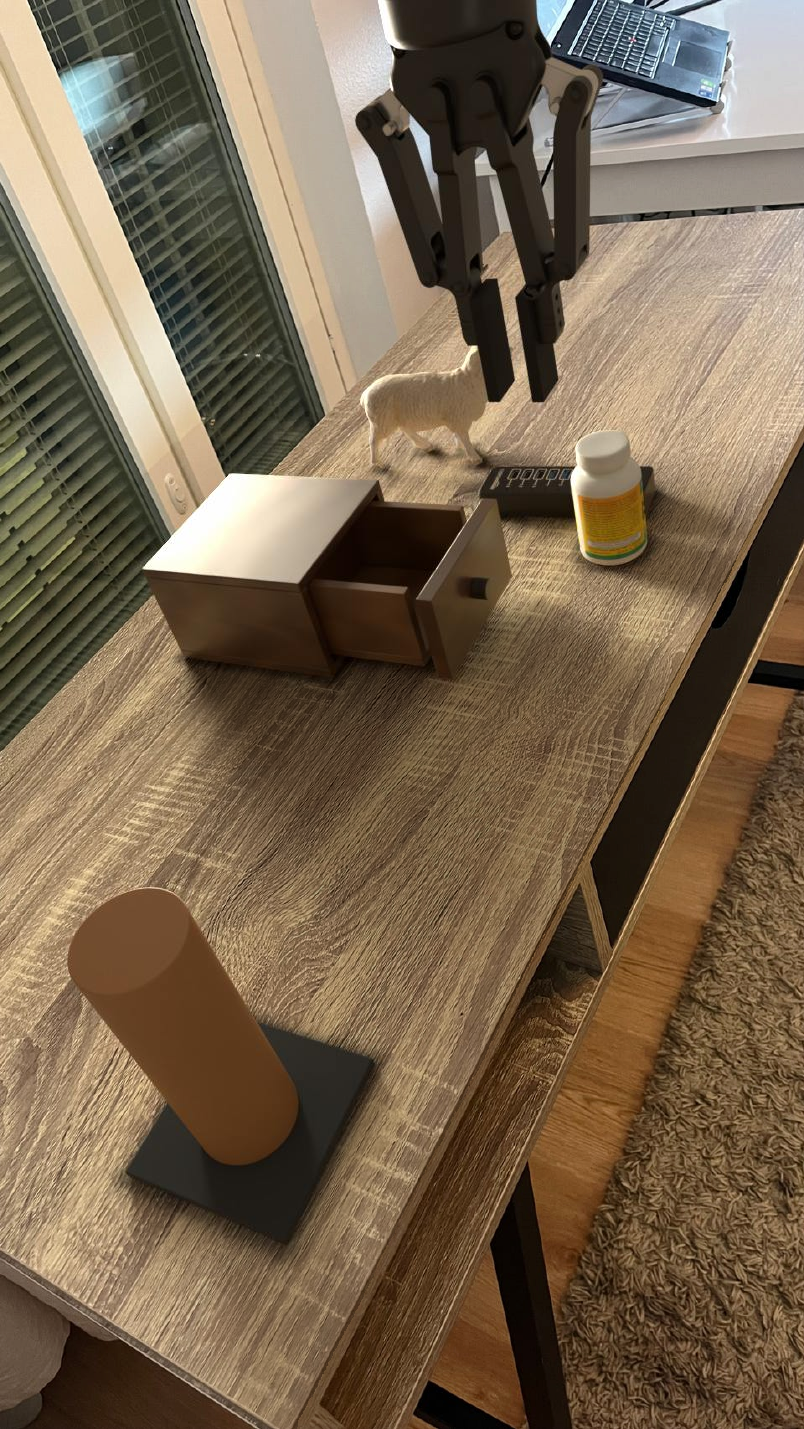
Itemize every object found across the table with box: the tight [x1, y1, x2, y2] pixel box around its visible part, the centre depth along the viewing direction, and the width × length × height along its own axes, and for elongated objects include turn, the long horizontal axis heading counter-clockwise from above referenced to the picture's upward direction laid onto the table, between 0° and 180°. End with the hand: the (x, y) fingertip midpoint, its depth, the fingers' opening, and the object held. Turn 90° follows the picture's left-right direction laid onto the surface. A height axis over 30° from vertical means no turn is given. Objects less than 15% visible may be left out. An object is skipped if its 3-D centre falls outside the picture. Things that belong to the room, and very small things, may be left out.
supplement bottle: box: [571, 429, 648, 566], centre depth 83 cm, size 5×5×10 cm
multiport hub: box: [477, 465, 657, 518], centre depth 92 cm, size 4×14×2 cm, turn 68°
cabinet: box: [141, 473, 386, 679], centre depth 87 cm, size 15×14×9 cm
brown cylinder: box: [66, 886, 299, 1165], centre depth 52 cm, size 6×6×16 cm
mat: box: [125, 1020, 376, 1245], centre depth 57 cm, size 10×10×1 cm
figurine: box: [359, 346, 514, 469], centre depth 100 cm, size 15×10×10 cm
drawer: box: [306, 499, 513, 680], centre depth 82 cm, size 15×12×7 cm
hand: (523, 390), depth 66 cm, fingers open, 2 cm apart
